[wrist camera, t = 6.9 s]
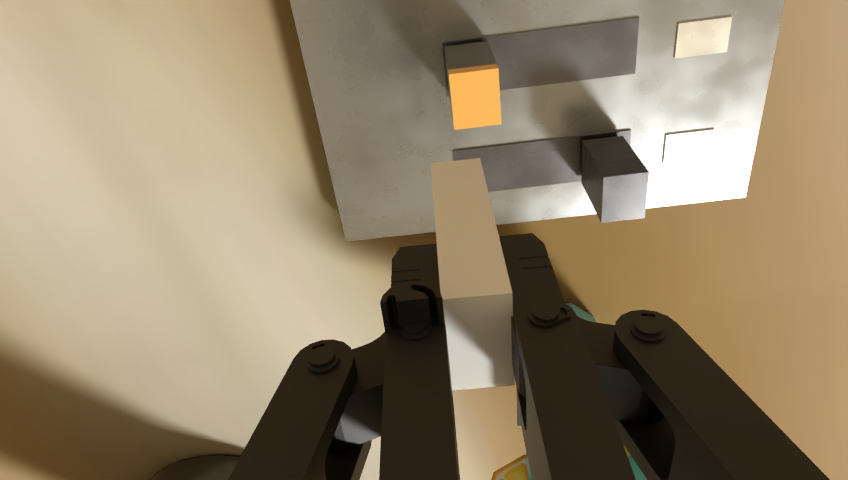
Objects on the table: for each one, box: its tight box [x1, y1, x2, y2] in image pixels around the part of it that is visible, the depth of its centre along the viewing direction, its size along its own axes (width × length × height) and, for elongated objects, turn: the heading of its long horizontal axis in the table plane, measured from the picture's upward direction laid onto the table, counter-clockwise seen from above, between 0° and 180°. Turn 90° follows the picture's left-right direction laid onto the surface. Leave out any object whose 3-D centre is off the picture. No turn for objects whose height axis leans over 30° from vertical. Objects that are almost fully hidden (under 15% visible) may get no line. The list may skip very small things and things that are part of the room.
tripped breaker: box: [444, 41, 501, 130], centre depth 26 cm, size 2×2×4 cm
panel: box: [290, 0, 785, 242], centre depth 27 cm, size 22×18×6 cm
